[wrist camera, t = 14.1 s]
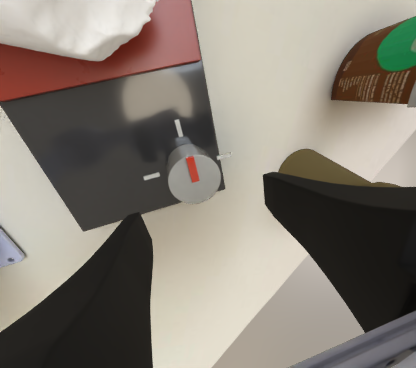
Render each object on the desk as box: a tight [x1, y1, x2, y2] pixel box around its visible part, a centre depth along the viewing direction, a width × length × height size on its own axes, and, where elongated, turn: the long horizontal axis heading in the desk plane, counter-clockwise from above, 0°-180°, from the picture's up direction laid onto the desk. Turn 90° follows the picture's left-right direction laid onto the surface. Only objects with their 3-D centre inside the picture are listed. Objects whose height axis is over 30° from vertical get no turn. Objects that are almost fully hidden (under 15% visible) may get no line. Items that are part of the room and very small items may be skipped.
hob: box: [0, 0, 231, 231], centre depth 15 cm, size 15×21×2 cm
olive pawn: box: [278, 149, 400, 187], centre depth 18 cm, size 6×6×11 cm
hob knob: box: [166, 144, 221, 204], centre depth 15 cm, size 4×4×4 cm
